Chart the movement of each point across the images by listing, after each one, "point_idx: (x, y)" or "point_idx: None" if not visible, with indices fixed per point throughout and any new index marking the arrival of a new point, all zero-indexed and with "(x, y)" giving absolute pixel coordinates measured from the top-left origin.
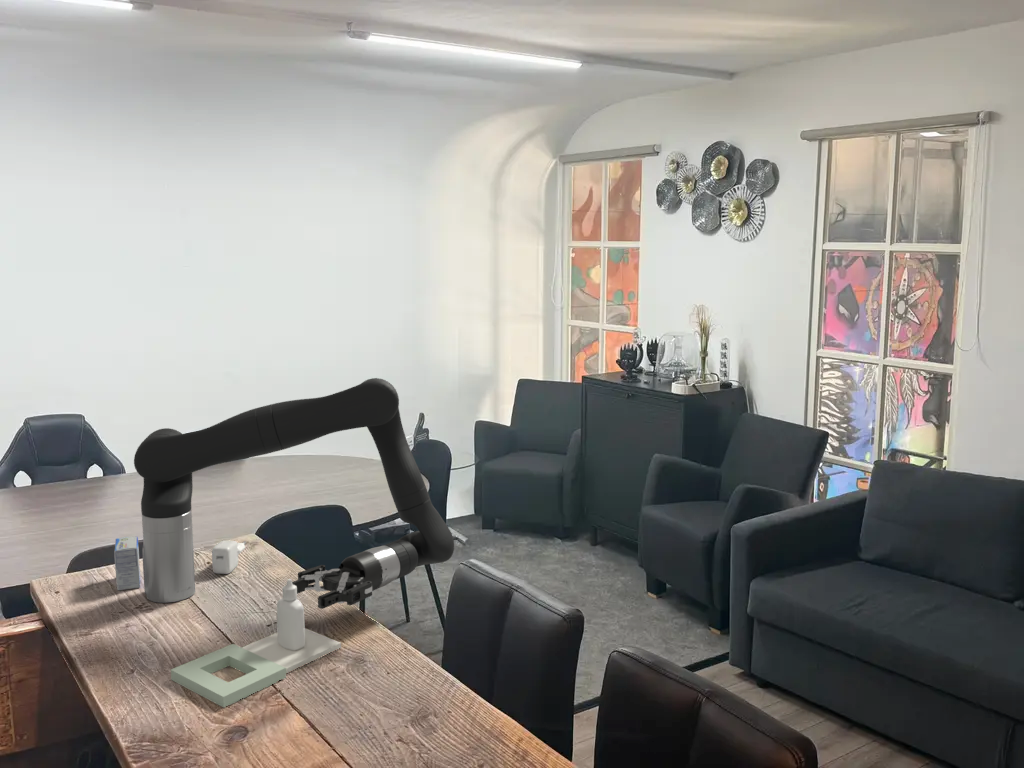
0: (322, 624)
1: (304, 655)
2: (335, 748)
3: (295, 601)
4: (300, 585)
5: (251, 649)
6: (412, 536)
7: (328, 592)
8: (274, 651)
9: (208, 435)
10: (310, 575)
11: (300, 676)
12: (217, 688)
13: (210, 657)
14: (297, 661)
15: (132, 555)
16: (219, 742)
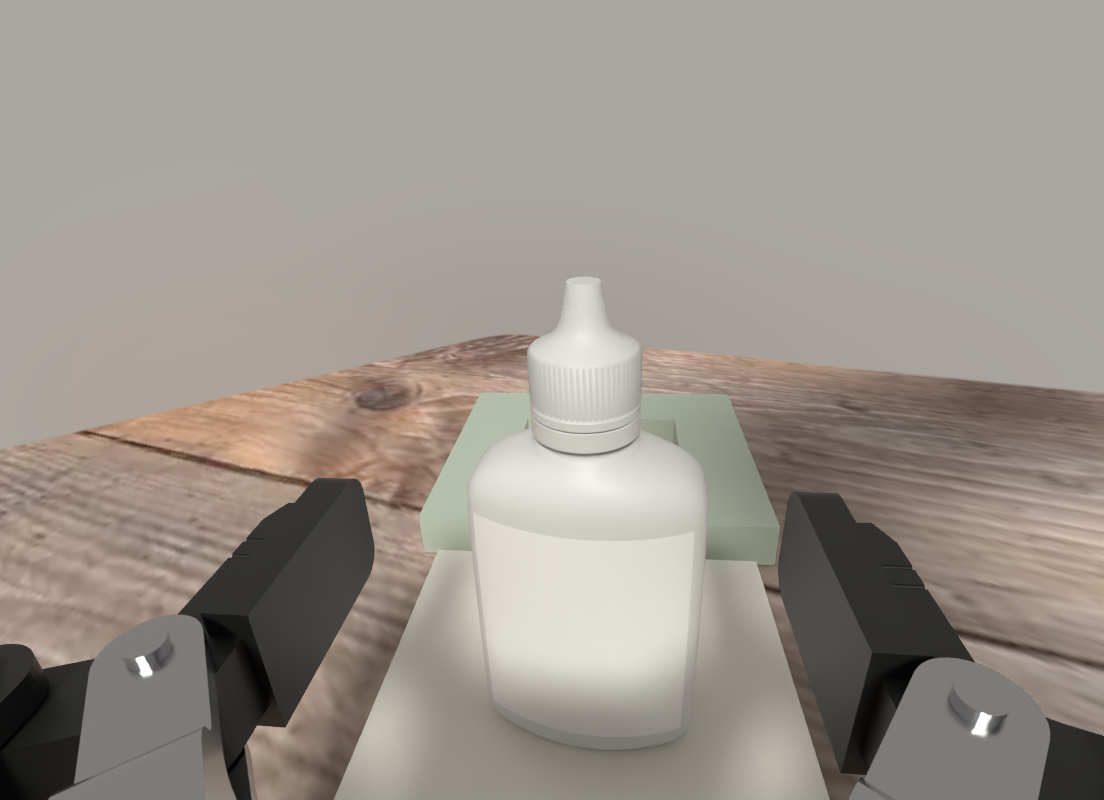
0: None
1: (435, 652)
2: (111, 440)
3: (530, 444)
4: (832, 641)
5: (704, 570)
6: None
7: (291, 548)
8: None
9: None
10: (982, 792)
11: (376, 584)
12: (528, 400)
13: (720, 453)
14: (430, 599)
15: None
16: (396, 379)
